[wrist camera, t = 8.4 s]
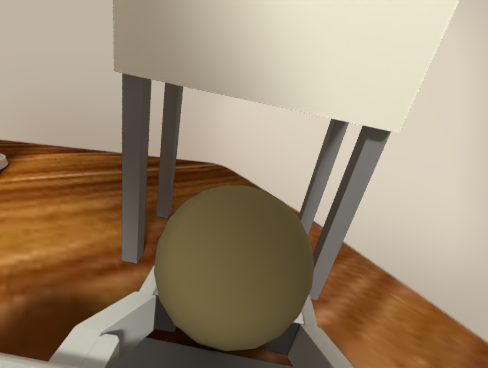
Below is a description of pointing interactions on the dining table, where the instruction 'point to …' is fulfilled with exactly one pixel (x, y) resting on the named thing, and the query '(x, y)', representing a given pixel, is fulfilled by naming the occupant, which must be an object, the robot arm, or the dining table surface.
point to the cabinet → (274, 85)
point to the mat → (185, 357)
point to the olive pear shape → (233, 267)
